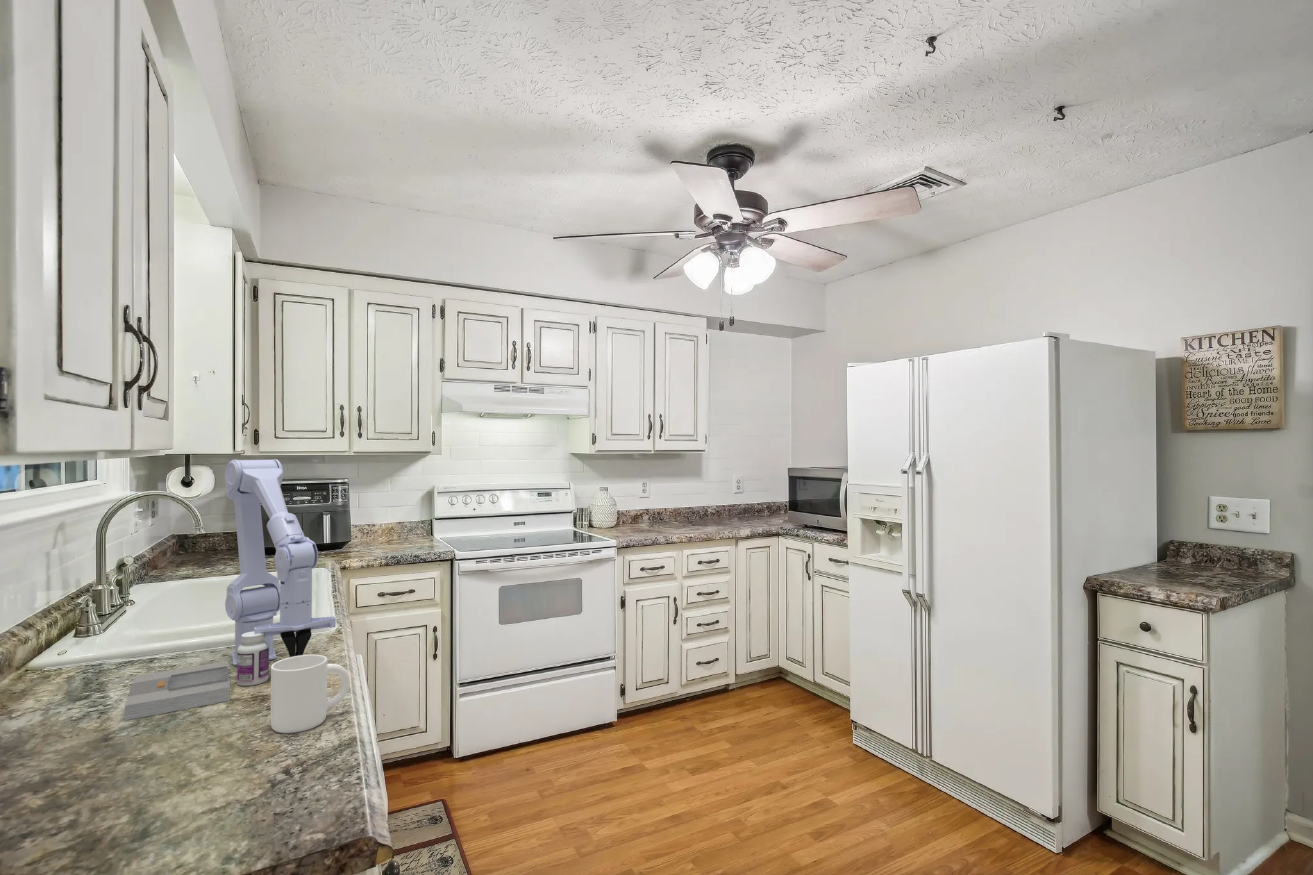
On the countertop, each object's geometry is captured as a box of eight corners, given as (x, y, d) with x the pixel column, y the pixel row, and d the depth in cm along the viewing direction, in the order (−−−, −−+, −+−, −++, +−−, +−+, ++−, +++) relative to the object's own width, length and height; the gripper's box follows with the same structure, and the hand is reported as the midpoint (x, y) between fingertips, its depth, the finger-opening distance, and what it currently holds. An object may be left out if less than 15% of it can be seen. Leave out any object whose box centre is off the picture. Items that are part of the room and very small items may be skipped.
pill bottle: (262, 675, 132) (263, 628, 132) (273, 681, 128) (273, 632, 129) (232, 682, 128) (233, 633, 128) (242, 688, 124) (242, 638, 124)
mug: (343, 704, 116) (344, 647, 117) (355, 719, 110) (355, 658, 110) (267, 722, 109) (267, 660, 109) (274, 739, 103) (275, 674, 103)
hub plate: (134, 688, 125) (135, 674, 125) (227, 672, 133) (228, 659, 133) (124, 720, 110) (124, 704, 110) (229, 700, 118) (230, 685, 118)
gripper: (255, 610, 125) (255, 680, 125) (338, 599, 133) (337, 665, 133) (253, 603, 131) (253, 670, 131) (332, 593, 139) (332, 656, 139)
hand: (295, 667), depth 132 cm, fingers closed
